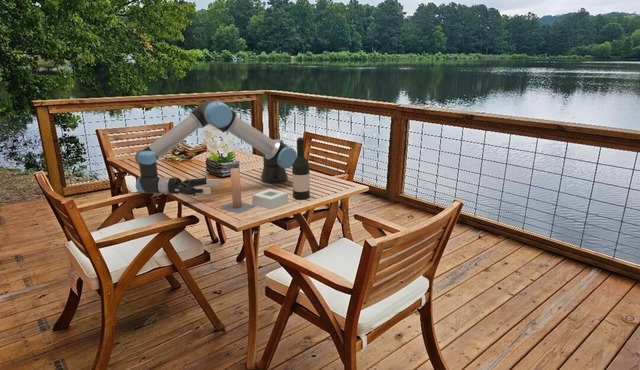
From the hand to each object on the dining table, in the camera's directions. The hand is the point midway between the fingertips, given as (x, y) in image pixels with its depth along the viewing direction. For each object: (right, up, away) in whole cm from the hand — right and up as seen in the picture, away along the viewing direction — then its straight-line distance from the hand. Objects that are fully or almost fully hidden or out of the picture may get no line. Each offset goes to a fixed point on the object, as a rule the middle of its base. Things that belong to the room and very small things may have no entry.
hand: (215, 186), depth 193 cm
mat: (+10, -10, +2) cm, 14 cm away
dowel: (+10, -10, +2) cm, 14 cm away
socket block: (+25, -8, +7) cm, 27 cm away
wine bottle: (+39, -6, +16) cm, 42 cm away
